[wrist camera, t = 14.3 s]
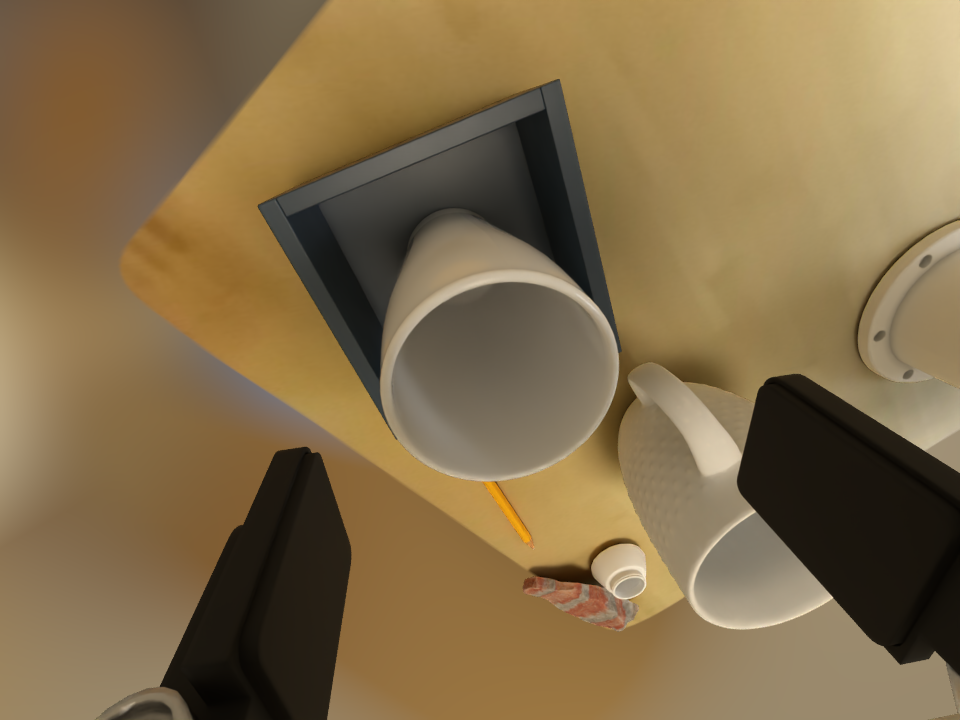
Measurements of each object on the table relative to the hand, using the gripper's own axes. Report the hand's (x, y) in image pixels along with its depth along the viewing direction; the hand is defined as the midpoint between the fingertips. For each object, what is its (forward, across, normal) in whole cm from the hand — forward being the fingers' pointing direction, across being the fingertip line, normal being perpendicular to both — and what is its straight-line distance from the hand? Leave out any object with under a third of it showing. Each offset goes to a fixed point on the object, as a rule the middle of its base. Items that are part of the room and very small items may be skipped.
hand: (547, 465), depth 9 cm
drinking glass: (+18, +1, 0) cm, 18 cm away
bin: (+19, +1, 0) cm, 19 cm away
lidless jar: (+19, -11, +30) cm, 37 cm away
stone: (+19, -6, +35) cm, 40 cm away
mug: (+19, -13, +14) cm, 27 cm away
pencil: (+19, -1, +20) cm, 28 cm away
